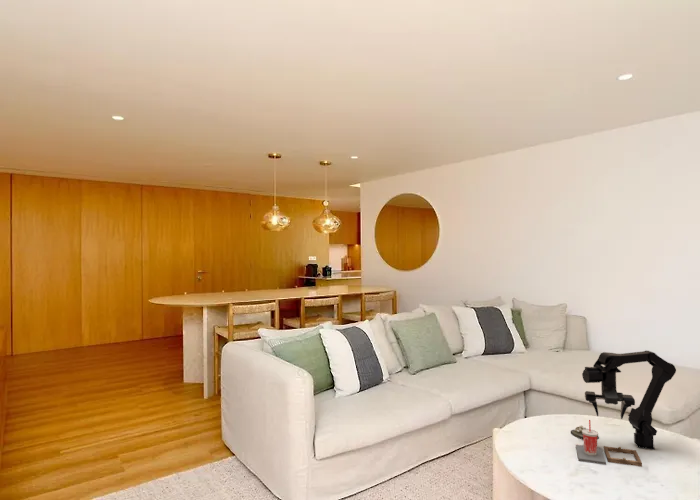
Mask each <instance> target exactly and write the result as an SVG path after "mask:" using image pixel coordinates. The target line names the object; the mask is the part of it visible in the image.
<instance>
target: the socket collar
mask: <svg viewBox="0 0 700 500" xmlns="http://www.w3.org/2000/svg"><path fill="white" fill-rule="evenodd" d="M610 452H613V453H618V454H627V455H632V456H633V457H634V459H635V460H633V459H627V458H625V457H622V458H620V457H619V458H618V457H611V454H610ZM603 453H604V456H605V457H606V458H605V459H606V460H607V463H612V464H613V463H615V464H622V465H628V466H636V467H641V468H642V467H643V462H642V460H641V458H640V456H639V453H638V452H637V450H635V449H628V448H622V447H621V446H618V447H612V446H605V445H603Z"/></svg>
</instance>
